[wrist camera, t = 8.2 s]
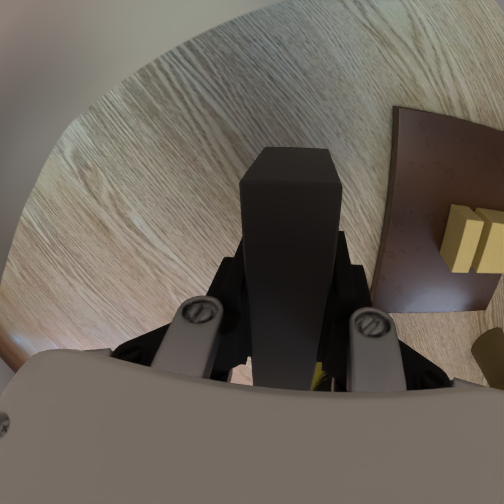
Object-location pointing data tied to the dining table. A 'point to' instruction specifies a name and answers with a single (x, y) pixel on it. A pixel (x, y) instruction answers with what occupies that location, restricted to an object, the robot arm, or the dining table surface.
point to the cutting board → (435, 211)
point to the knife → (289, 260)
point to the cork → (491, 357)
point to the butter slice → (461, 238)
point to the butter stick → (490, 243)
